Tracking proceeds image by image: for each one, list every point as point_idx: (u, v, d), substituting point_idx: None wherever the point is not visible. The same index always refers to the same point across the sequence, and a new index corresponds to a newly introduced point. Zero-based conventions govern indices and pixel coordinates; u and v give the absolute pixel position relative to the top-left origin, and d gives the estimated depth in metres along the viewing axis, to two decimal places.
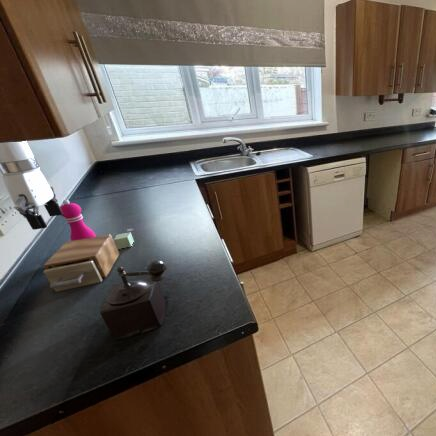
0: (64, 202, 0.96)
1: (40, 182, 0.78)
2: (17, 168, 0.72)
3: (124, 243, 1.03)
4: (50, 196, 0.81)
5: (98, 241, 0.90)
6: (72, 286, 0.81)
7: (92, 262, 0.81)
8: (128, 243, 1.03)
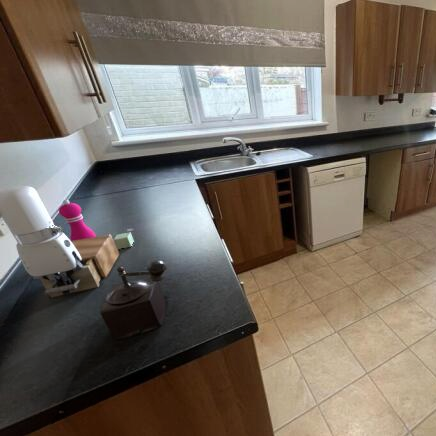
0: (64, 202, 0.96)
1: (43, 255, 0.69)
2: None
3: (124, 243, 1.03)
4: (62, 268, 0.72)
5: (98, 241, 0.90)
6: None
7: (89, 267, 0.78)
8: (128, 243, 1.03)
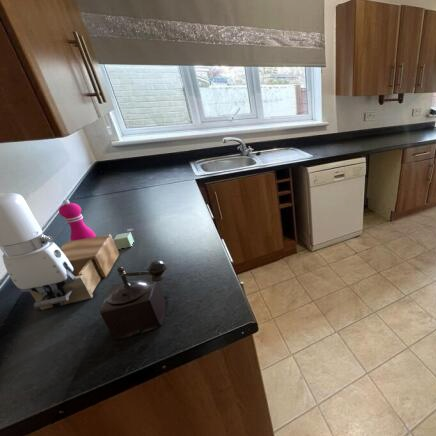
0: (64, 202, 0.96)
1: (32, 267, 0.65)
2: None
3: (124, 243, 1.03)
4: (52, 280, 0.68)
5: (98, 241, 0.90)
6: None
7: (81, 277, 0.74)
8: (128, 243, 1.03)
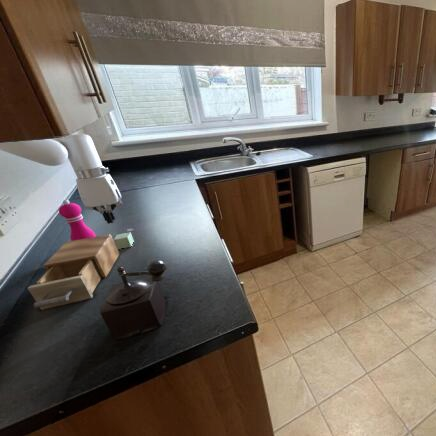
0: (64, 202, 0.96)
1: (95, 189, 0.90)
2: (76, 175, 0.88)
3: (124, 243, 1.03)
4: (108, 201, 0.93)
5: (98, 241, 0.90)
6: (60, 303, 0.74)
7: (81, 277, 0.74)
8: (128, 243, 1.03)
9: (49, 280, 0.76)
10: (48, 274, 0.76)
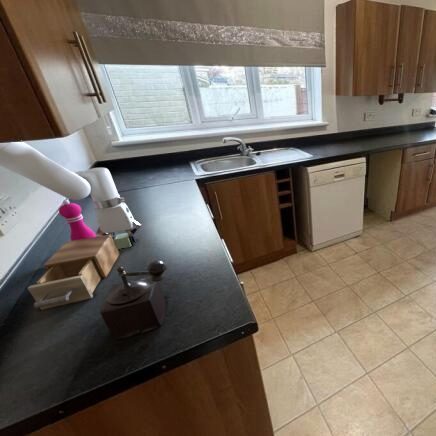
0: (64, 202, 0.96)
1: (112, 217, 0.98)
2: (95, 205, 0.95)
3: (124, 243, 1.03)
4: (124, 228, 1.01)
5: (98, 241, 0.90)
6: (60, 303, 0.74)
7: (81, 277, 0.74)
8: (128, 243, 1.03)
9: (49, 280, 0.76)
10: (48, 274, 0.76)
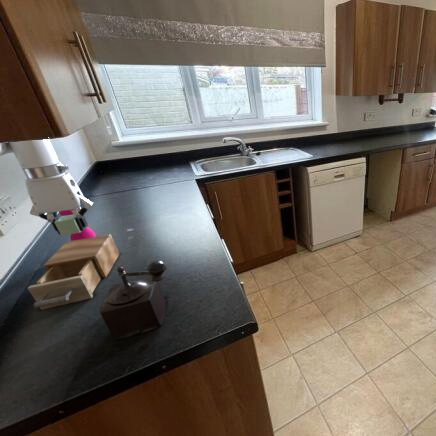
0: None
1: (50, 191, 0.74)
2: (25, 174, 0.71)
3: (69, 227, 0.79)
4: (68, 206, 0.77)
5: (98, 241, 0.90)
6: (60, 303, 0.74)
7: (81, 277, 0.74)
8: (75, 227, 0.79)
9: (49, 280, 0.76)
10: (48, 274, 0.76)
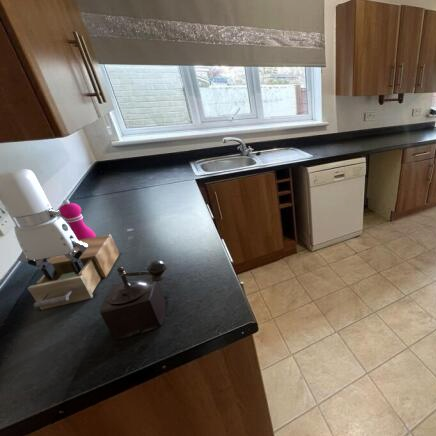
0: (64, 202, 0.96)
1: (41, 238, 0.70)
2: None
3: None
4: (60, 252, 0.73)
5: (98, 241, 0.90)
6: (60, 303, 0.74)
7: (81, 277, 0.74)
8: None
9: (49, 280, 0.76)
10: None
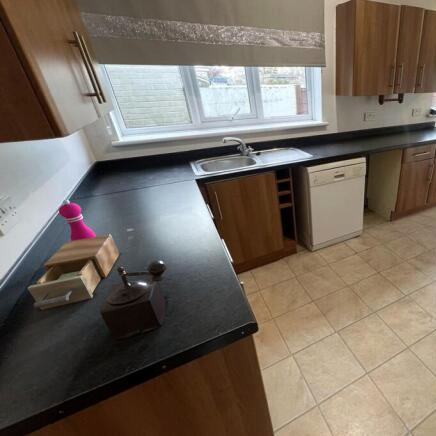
0: (64, 202, 0.96)
1: None
2: None
3: None
4: None
5: (98, 241, 0.90)
6: (60, 303, 0.74)
7: (81, 277, 0.74)
8: None
9: (49, 280, 0.76)
10: (48, 274, 0.76)
